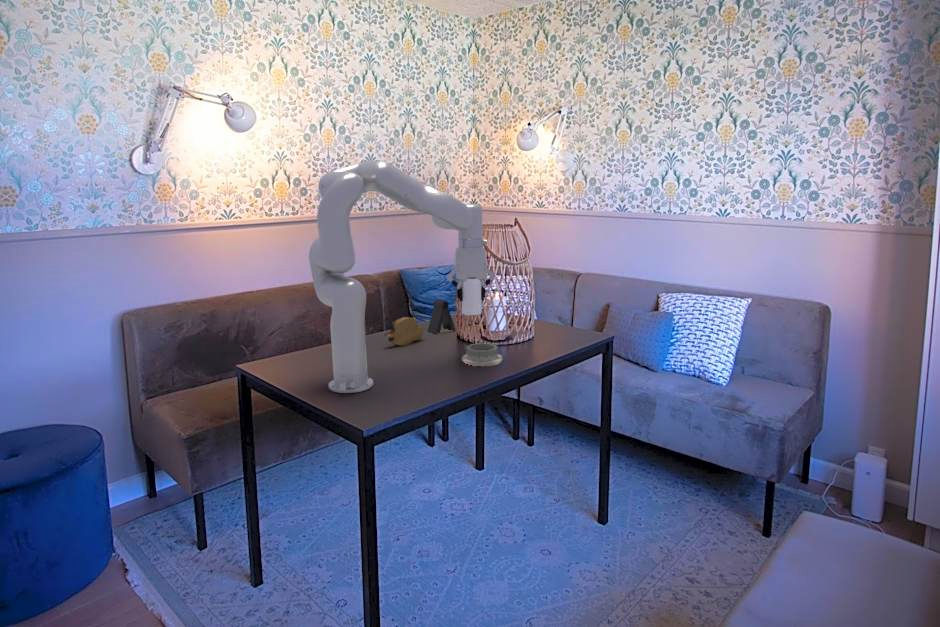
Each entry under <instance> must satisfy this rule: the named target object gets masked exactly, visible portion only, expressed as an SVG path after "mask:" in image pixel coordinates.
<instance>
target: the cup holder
mask: <svg viewBox="0 0 940 627" xmlns="http://www.w3.org/2000/svg"><path fill="white" fill-rule="evenodd" d="M498 348H499V347H498V346H497V345H496V344H493V343H487V342H480V343H479V342H478V343H476V342H475V343H470V344H468V345H467V346H466V353H465V354H464V355H462V357H461V362H462V361H463V362H464V363H465V365H466V364H468V365H467V366H470V365H472V366H471V367H477V366H481V367H482V368H484V367H485V366H486V367H493V366H496V365H500V364H502V363H503V356H502V355H501V354H498V352H499V350H498ZM463 362H462V363H463ZM464 363H463V364H464Z"/></svg>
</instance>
